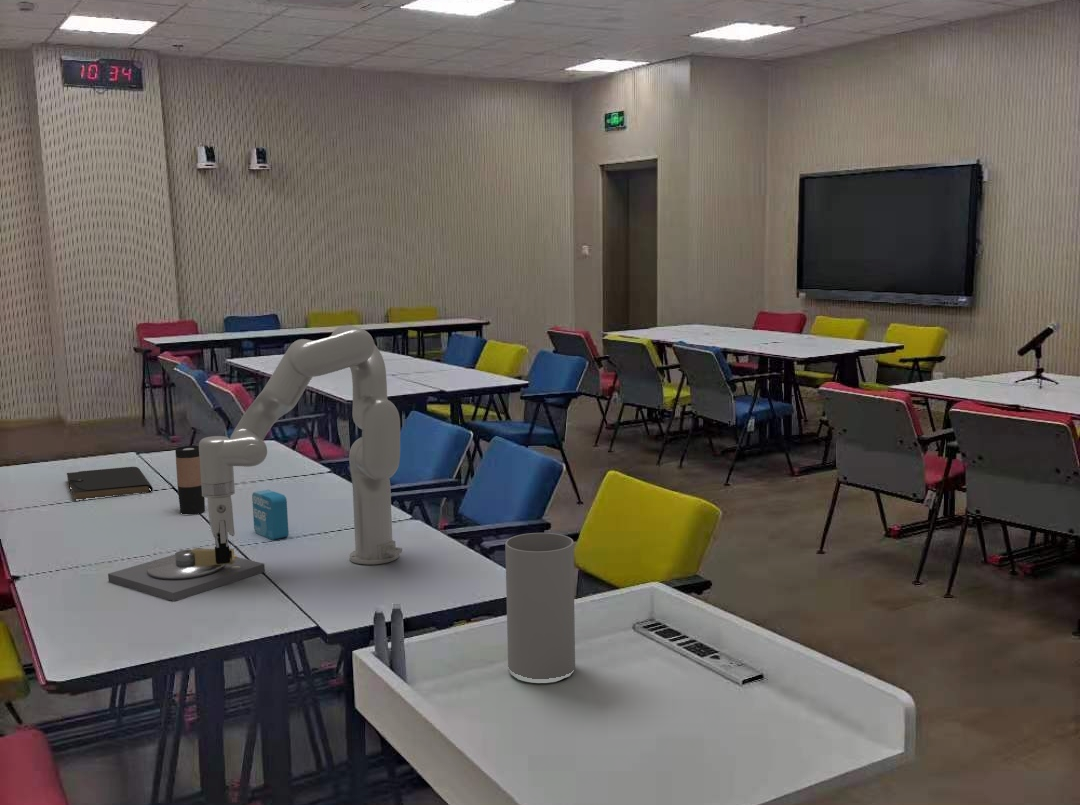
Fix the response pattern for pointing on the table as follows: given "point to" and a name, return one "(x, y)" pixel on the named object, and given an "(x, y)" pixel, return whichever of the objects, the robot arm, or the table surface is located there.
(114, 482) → the dark notebook
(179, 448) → the travel mug
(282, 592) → the table surface
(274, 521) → the data package
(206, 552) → the capstan dial
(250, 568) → the dial base
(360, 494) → the robot arm
